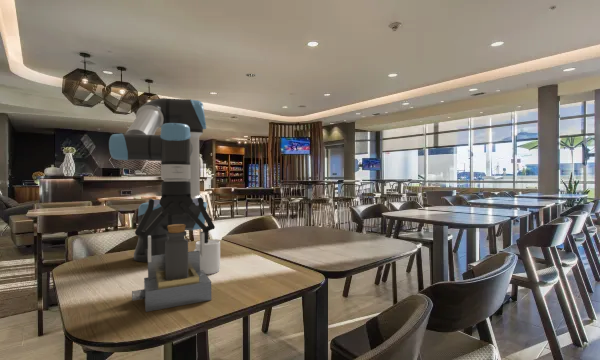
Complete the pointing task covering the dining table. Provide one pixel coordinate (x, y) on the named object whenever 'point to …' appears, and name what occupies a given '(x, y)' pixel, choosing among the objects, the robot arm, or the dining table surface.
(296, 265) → the dining table surface
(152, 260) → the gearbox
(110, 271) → the dining table surface
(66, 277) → the dining table surface
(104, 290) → the dining table surface
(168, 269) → the bottle
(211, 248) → the mug
